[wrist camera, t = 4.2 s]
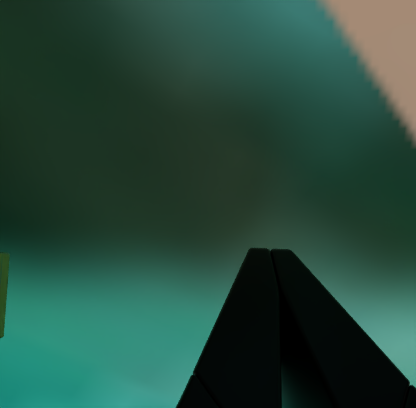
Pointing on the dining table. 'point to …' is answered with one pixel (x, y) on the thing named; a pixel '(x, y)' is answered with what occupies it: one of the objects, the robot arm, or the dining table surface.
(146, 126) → the dining table surface
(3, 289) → the gear
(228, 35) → the dining table surface
